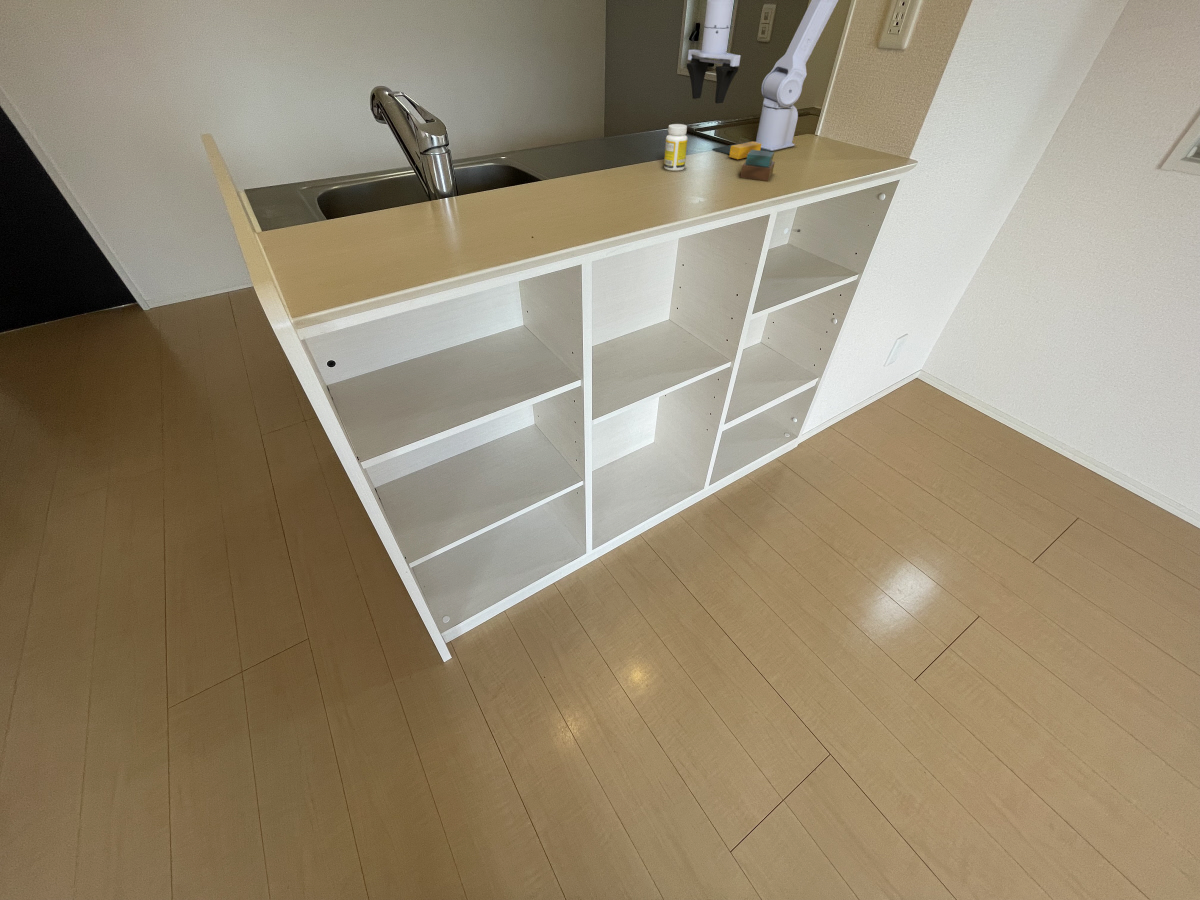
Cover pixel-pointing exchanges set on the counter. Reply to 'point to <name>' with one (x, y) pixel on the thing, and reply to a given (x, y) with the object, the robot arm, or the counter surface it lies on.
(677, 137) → the supplement bottle
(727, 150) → the mat
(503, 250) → the counter surface
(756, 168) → the two-tone stacked block
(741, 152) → the bar
